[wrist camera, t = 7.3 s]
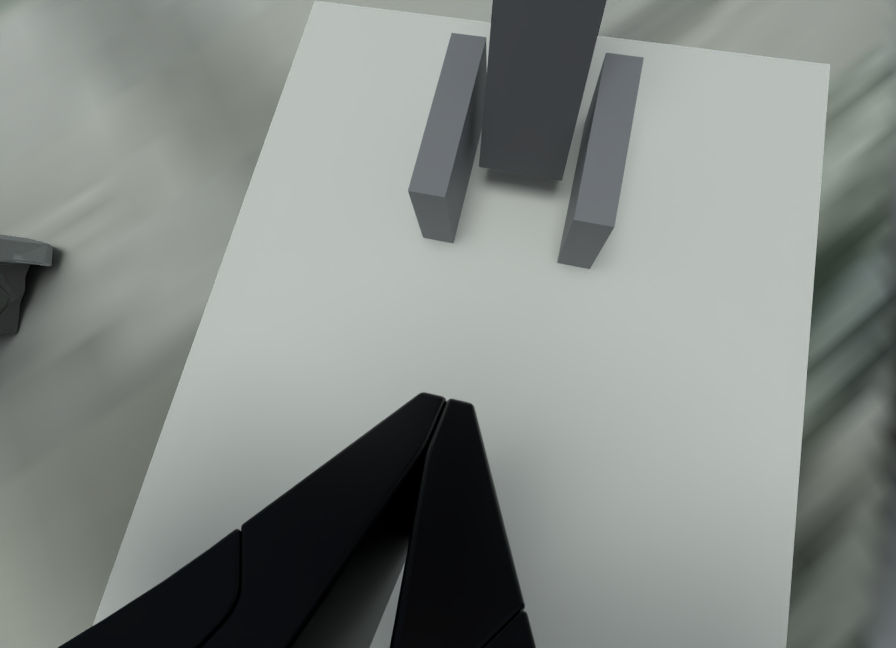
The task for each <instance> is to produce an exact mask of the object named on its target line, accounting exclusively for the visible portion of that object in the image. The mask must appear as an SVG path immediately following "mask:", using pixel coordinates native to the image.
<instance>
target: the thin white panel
mask: <svg viewBox="0 0 896 648" xmlns="http://www.w3.org/2000/svg"><path fill="white" fill-rule="evenodd" d="M490 29H491V22H483V21H475V20H467V19H459V18H451V17H443V16H435V15H427V14H419V13H411V12H403V11H395V10H387V9H379V8H371V7H363V6H354V5H346V4H338V3H330V2H322V1H315V2H314V5H313V7H312V10H311V13H310V16H309V19H308V21H307V24H306V27H305V30H304V33H303V35H302V38H301V41H300V44H299V47H298V50H297V52H296V55H295V58H294V61H293V64H292V66H291V69H290V72H289V75H288V78H287V80H286V83H285V86H284V89H283V92H282V95H281V97H280V100H279V103H278V106H277V109H276V111H275V114H274V117H273V120H272V123H271V125H270V128H269V131H268V134H267V137H266V139H265V142H264V145H263V148H262V151H261V154H260V156H259V159H258V162H257V165H256V168H255V170H254V173H253V176H252V179H251V182H250V184H249V187H248V190H247V193H246V196H245V199H244V201H243V204H242V207H241V210H240V213H239V215H238V218H237V221H236V224H235V227H234V229H233V232H232V235H231V238H230V241H229V244H228V246H227V249H226V252H225V255H224V258H223V260H222V263H221V266H220V269H219V272H218V274H217V277H216V280H215V283H214V286H213V288H212V291H211V294H210V297H209V300H208V303H207V305H206V308H205V311H204V314H203V317H202V319H201V322H200V325H199V328H198V331H197V333H196V336H195V339H194V342H193V345H192V348H191V350H190V353H189V356H188V359H187V362H186V364H185V367H184V370H183V373H182V376H181V378H180V381H179V384H178V387H177V390H176V392H175V395H174V398H173V401H172V404H171V407H170V409H169V412H168V415H167V418H166V421H165V423H164V426H163V429H162V432H161V435H160V437H159V440H158V443H157V446H156V449H155V452H154V454H153V457H152V460H151V463H150V466H149V468H148V471H147V474H146V477H145V480H144V482H143V485H142V488H141V491H140V494H139V496H138V499H137V502H136V505H135V508H134V511H133V513H132V516H131V519H130V522H129V525H128V527H127V530H126V533H125V536H124V539H123V541H122V544H121V547H120V550H119V553H118V556H117V558H116V561H115V564H114V567H113V570H112V572H111V575H110V578H109V581H108V584H107V586H106V589H105V592H104V595H103V598H102V600H101V603H100V606H99V609H98V612H97V615H96V617H95V620H94V623H93V626H94V625H95V624H97V623H98V622H100V621H102V620H103V619H105V618H107V617H108V616H110V615H111V614H113V613H114V612H116V611H117V610H119V609H120V608H122V607H124V606H125V605H127V604H128V603H130V602H131V601H133V600H134V599H136V598H138V597H139V596H141V595H142V594H144V593H145V592H147V591H148V590H150V589H151V588H153V587H155V586H156V585H158V584H159V583H161V582H162V581H164V580H165V579H167V578H168V577H169V576H171V575H172V574H174V573H175V572H177V571H178V570H179V569H181V568H182V567H184V566H185V565H186V564H188V563H189V562H191V561H192V560H194V559H195V558H196V557H198V556H199V555H201V554H202V553H204V552H205V551H206V550H208V549H209V548H211V547H212V546H213V545H215V544H216V543H217V542H219V541H220V540H221V539H223V538H224V537H225V536H227V535H228V534H229V533H231V532H232V531H233V530H235V529H239V530H241V526H242V524H243V523H245V522H246V521H247V520H249V519H250V518H251V517H253V516H254V515H256V514H257V513H258V512H260V511H261V510H262V509H264V508H265V507H266V506H268V505H269V504H270V503H272V502H273V501H274V500H276V499H277V498H278V497H280V496H281V495H283V494H284V493H285V492H287V491H288V490H289V489H291V488H292V487H293V486H295V485H296V484H297V483H299V482H300V481H301V480H303V479H304V478H305V477H307V476H308V475H310V474H311V473H312V472H314V471H315V470H316V469H318V468H319V467H320V466H322V465H323V464H324V463H326V462H327V461H328V460H330V459H331V458H333V457H334V456H335V455H337V454H338V453H339V452H341V451H342V450H343V449H345V448H346V447H347V446H349V445H350V444H351V443H353V442H354V441H355V440H357V439H358V438H360V437H361V436H362V435H364V434H365V433H366V432H368V431H369V430H370V429H372V428H373V427H374V426H376V425H377V424H378V423H380V422H381V421H382V420H384V419H385V418H387V417H388V416H389V415H391V414H392V413H393V412H395V411H396V410H397V409H399V408H400V407H401V406H403V405H404V404H405V403H407V402H408V401H410V400H411V399H412V398H414V397H415V396H416V395H418V394H419V393H422V392H426V393H431V394H435V395H439V396H443V397H445V398H446V401H447V400H449V399H456V400H461V401H465V402H469V403H472V404H473V405H474V407H475V411H476V415H477V419H478V423H479V426H480V430H481V434H482V438H483V442H484V446H485V450H486V454H487V458H488V462H489V466H490V470H491V474H492V477H493V481H494V485H495V489H496V493H497V497H498V501H499V505H500V509H501V513H502V517H503V521H504V525H505V529H506V532H507V536H508V540H509V544H510V548H511V552H512V556H513V560H514V564H515V568H516V572H517V576H518V580H519V583H520V587H521V591H522V595H523V599H524V603H525V609H524V611H525V612H527V614H528V617H529V621H530V625H531V629H532V633H533V637H534V641H535V645H536V648H786V642H787V629H788V616H789V603H790V589H791V576H792V563H793V550H794V536H795V523H796V510H797V497H798V483H799V470H800V457H801V444H802V430H803V417H804V404H805V391H806V377H807V364H808V351H809V338H810V324H811V311H812V298H813V285H814V271H815V258H816V245H817V232H818V218H819V205H820V192H821V179H822V165H823V152H824V139H825V126H826V112H827V99H828V86H829V73H830V64H822V63H814V62H806V61H798V60H790V59H782V58H774V57H766V56H757V55H749V54H741V53H733V52H725V51H717V50H709V49H701V48H693V47H685V46H677V45H669V44H661V43H653V42H645V41H637V40H629V39H620V38H612V37H604V36H598V37H597V41H596V45H595V49H594V53H593V57H592V61H591V65H590V69H589V73H588V77H587V81H586V85H585V89H584V93H583V98H582V102H581V106H580V110H579V114H578V118H577V122H576V126H575V130H574V134H573V138H572V142H571V146H570V150H569V155H568V159H567V163H566V167H565V171H564V175H563V179H562V181H561V180H555V179H549V178H543V177H537V176H531V175H525V174H519V173H513V172H507V171H501V170H495V169H489V168H483V167H479V158H480V146H481V135H482V123H483V111H484V99H485V88H486V76H487V64H488V52H489V41H490ZM404 565H405V563H404ZM404 565H403V568H402V570H401V573H400V575H399V577H398V580H397V582H396V585H395V587H394V590H393V592H392V594H391V597H390V599H389V602H388V604H387V606H386V609H385V611H384V614H383V616H382V619H381V621H380V623H379V626H378V628H377V631H376V633H375V635H374V638H373V640H372V643H371V645H370V648H390V642H391V637H392V631H393V626H394V620H395V615H396V609H397V604H398V598H399V593H400V587H401V582H402V576H403V571H404Z"/></svg>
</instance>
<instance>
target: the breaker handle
mask: <svg viewBox="0 0 896 648" xmlns="http://www.w3.org/2000/svg"><path fill="white" fill-rule="evenodd" d="M605 4H606V0H493V6H492V17H491V29H490V41H489V52H488V64H487V76H486V88H485V99H484V111H483V123H482V135H481V146H480V158H479V167H483V168H489V169H495V170H501V171H507V172H513V173H519V174H525V175H531V176H537V177H543V178H549V179H555V180H561V181H562V179H563V175H564V171H565V167H566V163H567V159H568V155H569V150H570V146H571V142H572V138H573V134H574V130H575V126H576V122H577V118H578V114H579V110H580V106H581V102H582V98H583V93H584V89H585V85H586V81H587V77H588V73H589V69H590V65H591V61H592V57H593V53H594V49H595V45H596V41H597V37H598V32H599V28H600V24H601V20H602V16H603V12H604V8H605Z"/></svg>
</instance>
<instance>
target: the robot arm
mask: <svg viewBox="0 0 896 648" xmlns="http://www.w3.org/2000/svg"><path fill="white" fill-rule="evenodd" d="M404 563H405V565H404ZM403 565H404V571H403V576H402V582H401V587H400V593H399V598H398V604H397V609H396V615H395V620H394V626H393V631H392V637H391V642H390V648H536V645H535V641H534V637H533V633H532V629H531V625H530V621H529V617H528V614H527V612H525V611H524V609H525V603H524V599H523V595H522V591H521V587H520V583H519V580H518V576H517V572H516V568H515V564H514V560H513V556H512V552H511V548H510V544H509V540H508V536H507V532H506V529H505V525H504V521H503V517H502V513H501V509H500V505H499V501H498V497H497V493H496V489H495V485H494V481H493V477H492V474H491V470H490V466H489V462H488V458H487V454H486V450H485V446H484V442H483V438H482V434H481V430H480V426H479V423H478V419H477V415H476V411H475V407H474V405H473V404H472V403H469V402H465V401H461V400H456V399H449V400H447V401H446V398H445V397H443V396H439V395H435V394H431V393H426V392H422V393H419V394H418V395H416V396H415V397H414V398H412V399H411V400H410V401H408V402H407V403H405V404H404V405H403V406H401V407H400V408H399V409H397V410H396V411H395V412H393V413H392V414H391V415H389V416H388V417H387V418H385V419H384V420H382V421H381V422H380V423H378V424H377V425H376V426H374V427H373V428H372V429H370V430H369V431H368V432H366V433H365V434H364V435H362V436H361V437H360V438H358V439H357V440H355V441H354V442H353V443H351V444H350V445H349V446H347V447H346V448H345V449H343V450H342V451H341V452H339V453H338V454H337V455H335V456H334V457H333V458H331V459H330V460H328V461H327V462H326V463H324V464H323V465H322V466H320V467H319V468H318V469H316V470H315V471H314V472H312V473H311V474H310V475H308V476H307V477H305V478H304V479H303V480H301V481H300V482H299V483H297V484H296V485H295V486H293V487H292V488H291V489H289V490H288V491H287V492H285V493H284V494H283V495H281V496H280V497H278V498H277V499H276V500H274V501H273V502H272V503H270V504H269V505H268V506H266V507H265V508H264V509H262V510H261V511H260V512H258V513H257V514H256V515H254V516H253V517H251V518H250V519H249V520H247V521H246V522H245V523H243V524H242V526H241V530H239V529H235V530H233V531H232V532H231V533H229V534H228V535H227V536H225V537H224V538H223V539H221V540H220V541H219V542H217V543H216V544H215V545H213V546H212V547H211V548H209V549H208V550H206V551H205V552H204V553H202V554H201V555H199V556H198V557H196V558H195V559H194V560H192V561H191V562H189V563H188V564H186V565H185V566H184V567H182V568H181V569H179V570H178V571H177V572H175V573H174V574H172V575H171V576H169V577H168V578H167V579H165V580H164V581H162V582H161V583H159V584H158V585H156V586H155V587H153V588H151V589H150V590H148V591H147V592H145V593H144V594H142V595H141V596H139V597H138V598H136V599H134V600H133V601H131V602H130V603H128V604H127V605H125V606H124V607H122V608H120V609H119V610H117V611H116V612H114V613H113V614H111V615H110V616H108V617H107V618H105V619H103V620H102V621H100V622H98V623H97V624H95V625H94V626H92V627H90V628H89V629H87V630H86V631H84V632H82V633H81V634H79V635H77V636H76V637H74V638H73V639H71V640H69V641H68V642H66V643H64V644H63V645H61V646H60V647H58V648H370V645H371V643H372V640H373V638H374V635H375V633H376V631H377V628H378V626H379V623H380V621H381V619H382V616H383V614H384V611H385V609H386V606H387V604H388V602H389V599H390V597H391V594H392V592H393V590H394V587H395V585H396V582H397V580H398V577H399V575H400V573H401V570H402V568H403Z"/></svg>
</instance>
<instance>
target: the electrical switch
mask: <svg viewBox="0 0 896 648" xmlns="http://www.w3.org/2000/svg"><path fill="white" fill-rule="evenodd" d="M52 254H53V247H52V246H51V245H49V244H47V243H43V242H39V241H35V240H31V239H27V238H20V237H13V236H6V235H0V334H12V333H17V332H18V322H19V312H20V303H21V300H22V297H23V294H24V292H25V276H26V274H27V271H28V269H29V266H30V264H35V265H42V266H52ZM27 263H28V264H27Z"/></svg>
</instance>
